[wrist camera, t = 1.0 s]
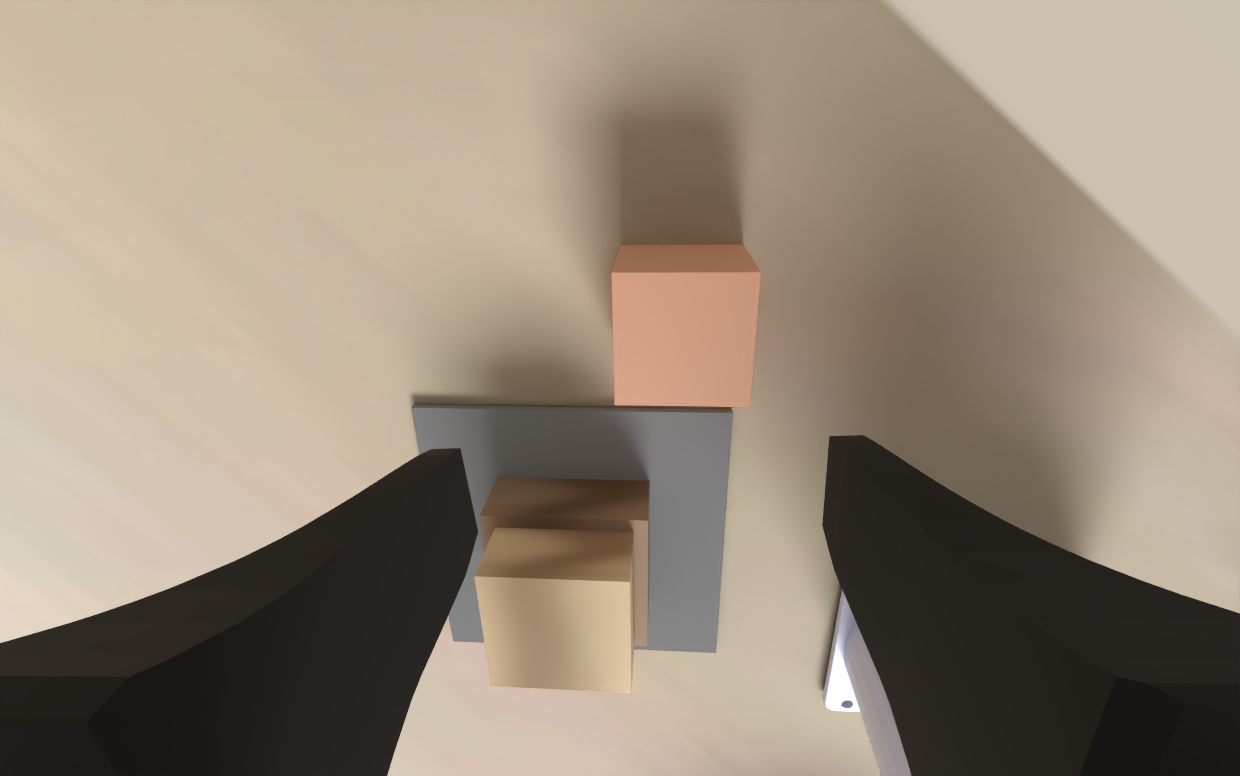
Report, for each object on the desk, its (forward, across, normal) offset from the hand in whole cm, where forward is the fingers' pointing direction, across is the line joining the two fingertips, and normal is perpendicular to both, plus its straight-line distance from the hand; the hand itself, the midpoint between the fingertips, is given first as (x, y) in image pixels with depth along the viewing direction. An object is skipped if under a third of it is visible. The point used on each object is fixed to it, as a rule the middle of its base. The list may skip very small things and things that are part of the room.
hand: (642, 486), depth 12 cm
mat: (+10, +4, +9) cm, 14 cm away
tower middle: (+7, +4, +9) cm, 12 cm away
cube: (+10, -1, -1) cm, 10 cm away
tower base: (+10, +4, +9) cm, 14 cm away
